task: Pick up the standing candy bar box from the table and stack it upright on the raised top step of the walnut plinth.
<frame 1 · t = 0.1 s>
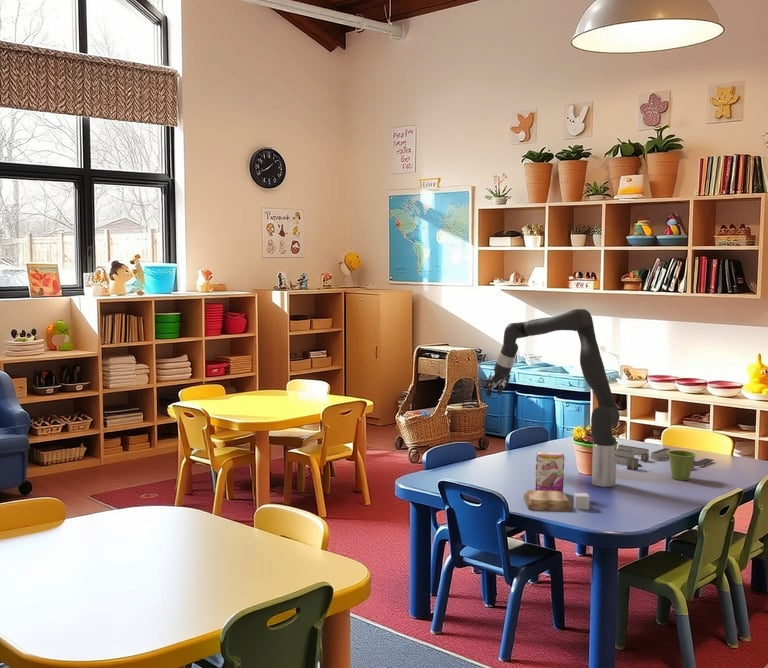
hand: (493, 395, 406), 31 cm above the table, tool tilted 20°, fingers open, 8 cm apart
grey cube: (581, 507, 336), on the table
candy bar box: (548, 494, 355), on the table
plant pot: (680, 479, 383), on the table
plinth: (547, 504, 339), on the table
building set: (647, 462, 415), on the table
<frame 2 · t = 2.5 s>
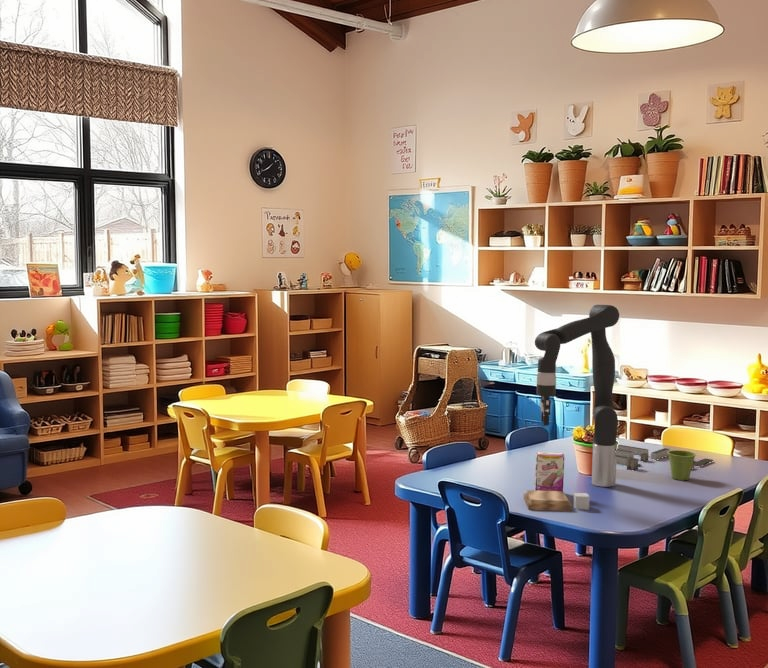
hand: (545, 423, 354), 28 cm above the table, tool pointing down, fingers open, 8 cm apart
nothing on the table moved.
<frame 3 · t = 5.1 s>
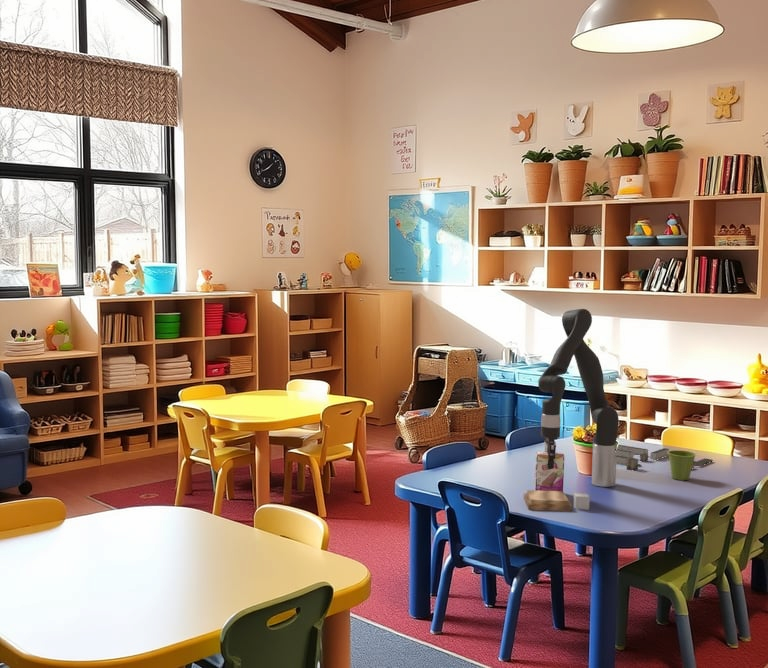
hand: (549, 466, 354), 11 cm above the table, tool pointing down, fingers closed on candy bar box, 5 cm apart
candy bar box: (548, 494, 355), on the table, touching gripper
everything else where it was.
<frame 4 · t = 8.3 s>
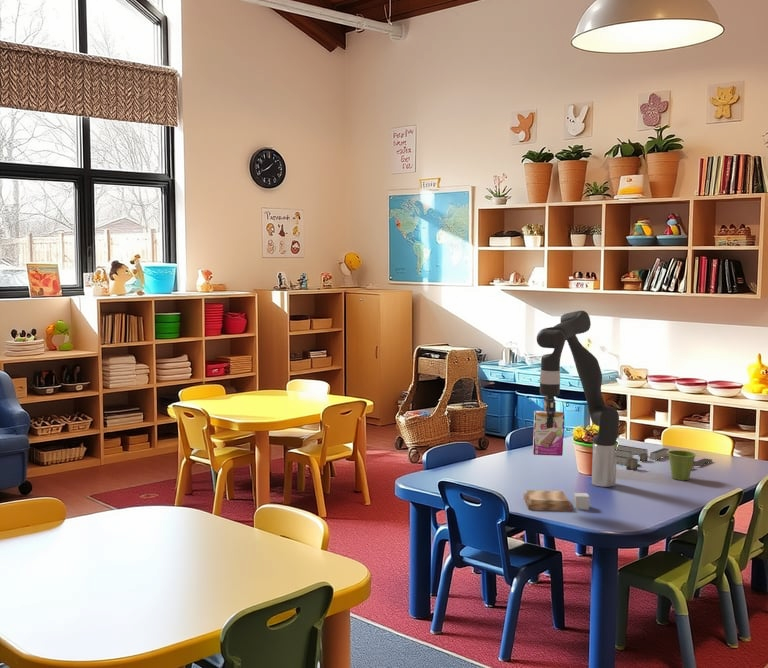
hand: (548, 426, 337), 30 cm above the table, tool pointing down, fingers closed on candy bar box, 5 cm apart
candy bar box: (547, 454, 338), point 19 cm above the table, touching gripper
everything else where it was.
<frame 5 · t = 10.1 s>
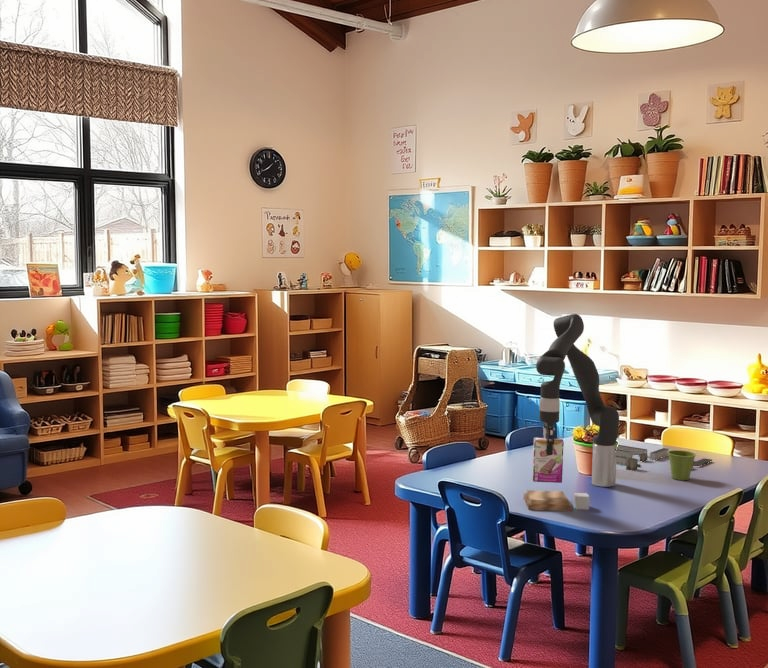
hand: (548, 453, 338), 20 cm above the table, tool pointing down, fingers closed on candy bar box, 5 cm apart
candy bar box: (547, 481, 339), point 9 cm above the table, touching gripper
everything else where it was.
when the fingers open (15 cm above the table, at t = 11.5 s): candy bar box stays where it is, resting on plinth.
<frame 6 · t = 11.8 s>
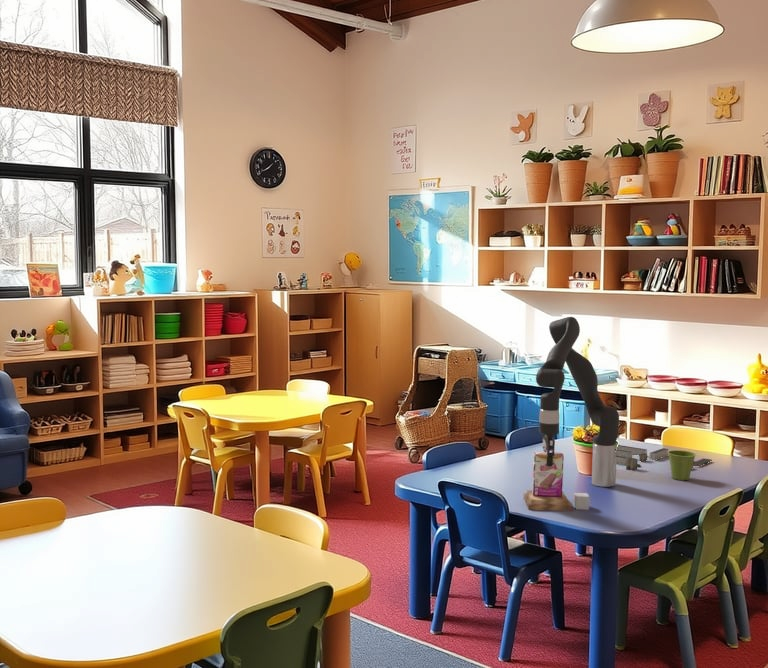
hand: (548, 463, 338), 16 cm above the table, tool pointing down, fingers open, 7 cm apart
candy bar box: (547, 495, 339), point 3 cm above the table, touching plinth
everything else where it was.
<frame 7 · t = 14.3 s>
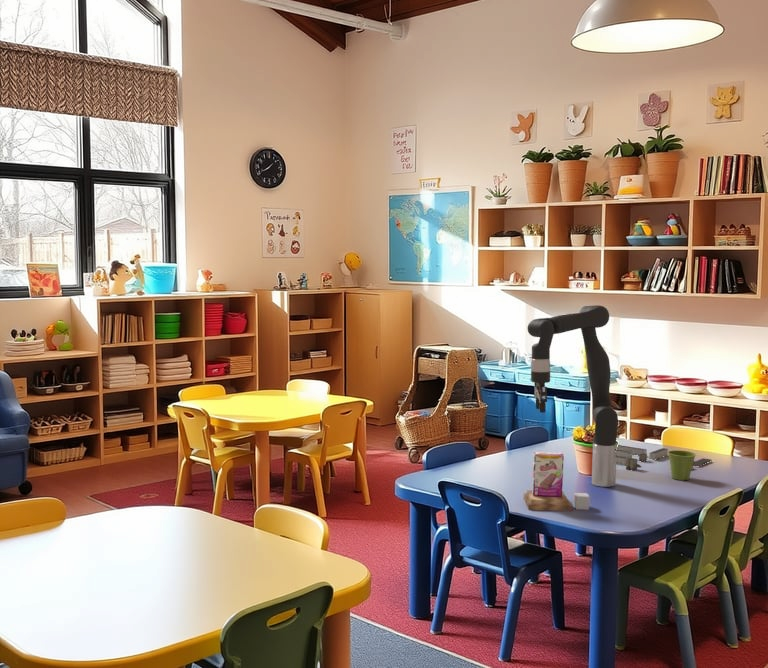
hand: (540, 410, 351), 34 cm above the table, tool pointing down, fingers open, 8 cm apart
nothing on the table moved.
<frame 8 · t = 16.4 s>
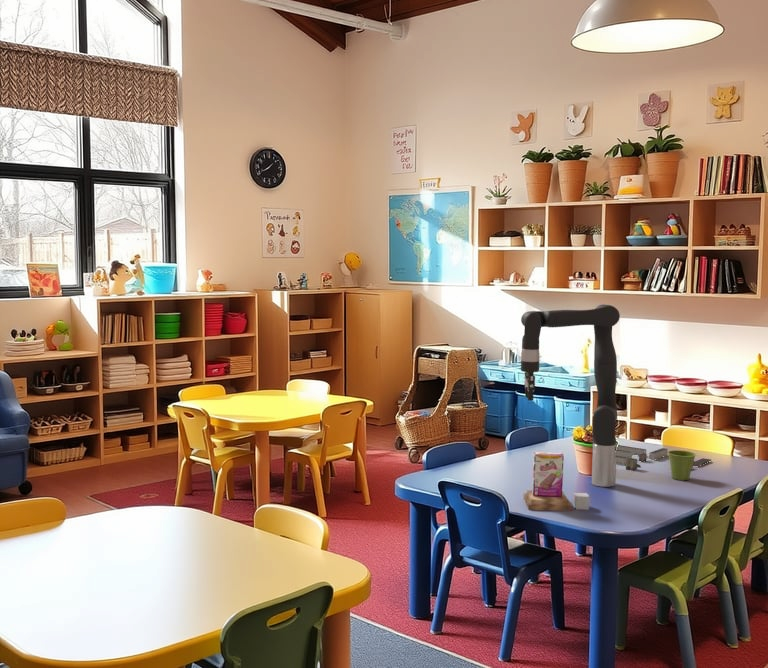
hand: (529, 398, 366), 36 cm above the table, tool pointing down, fingers open, 8 cm apart
nothing on the table moved.
at the end: candy bar box inside the target area on the plinth (0.1 cm from its centre), point 3.3 cm above the plinth's base; candy bar box tilted 0°; the gripper is holding nothing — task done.
